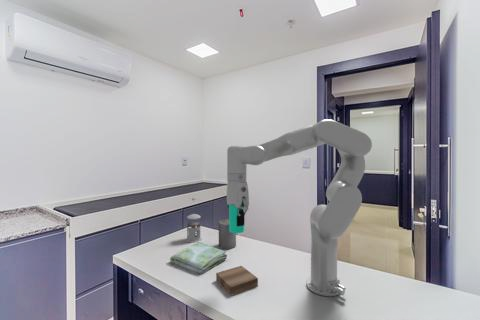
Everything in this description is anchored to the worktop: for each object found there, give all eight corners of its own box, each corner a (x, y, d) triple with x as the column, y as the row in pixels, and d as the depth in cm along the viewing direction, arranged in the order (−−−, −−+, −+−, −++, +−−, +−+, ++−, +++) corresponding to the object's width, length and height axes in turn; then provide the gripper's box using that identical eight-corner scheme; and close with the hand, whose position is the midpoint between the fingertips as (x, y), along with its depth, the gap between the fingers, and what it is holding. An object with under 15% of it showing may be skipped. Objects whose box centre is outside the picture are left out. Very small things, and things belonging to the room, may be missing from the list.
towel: (202, 276, 100) (202, 264, 100) (169, 263, 112) (169, 252, 112) (228, 260, 115) (228, 249, 115) (196, 250, 127) (196, 240, 127)
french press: (182, 242, 137) (182, 199, 136) (190, 235, 148) (190, 195, 147) (199, 243, 135) (198, 199, 134) (205, 236, 146) (205, 196, 146)
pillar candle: (221, 241, 137) (221, 216, 137) (237, 243, 136) (237, 217, 135) (216, 248, 128) (216, 221, 127) (234, 250, 126) (233, 222, 125)
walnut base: (257, 285, 92) (257, 278, 92) (230, 295, 86) (230, 287, 86) (241, 272, 102) (241, 265, 102) (216, 280, 96) (216, 273, 96)
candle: (239, 234, 89) (239, 202, 89) (226, 231, 92) (226, 200, 92) (247, 229, 94) (247, 200, 94) (234, 227, 97) (234, 198, 97)
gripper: (257, 179, 88) (257, 228, 88) (234, 175, 102) (234, 217, 102) (240, 180, 84) (240, 231, 84) (218, 176, 98) (218, 220, 99)
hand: (236, 223), depth 93 cm, fingers closed on candle, 4 cm apart
